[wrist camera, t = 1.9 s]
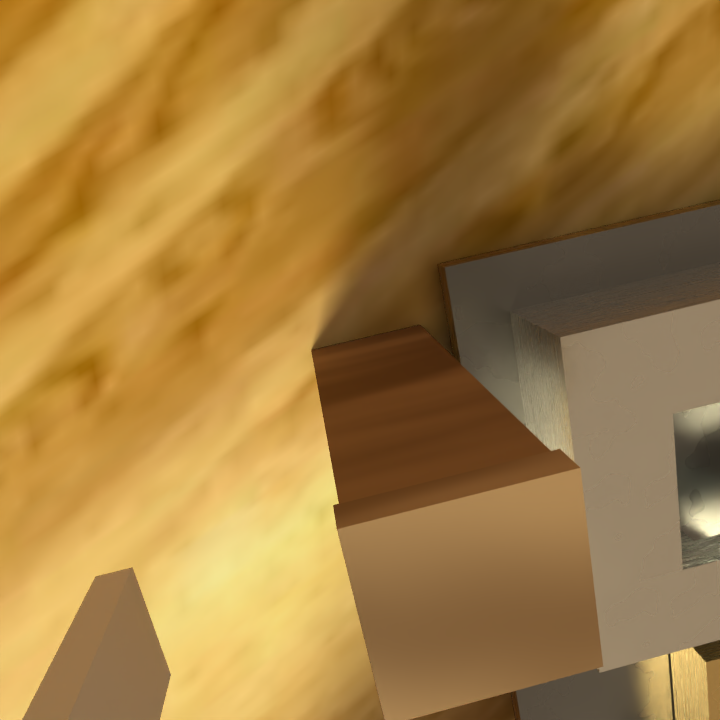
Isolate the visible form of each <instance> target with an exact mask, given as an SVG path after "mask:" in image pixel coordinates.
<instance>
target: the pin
mask: <svg viewBox="0 0 720 720" xmlns="http://www.w3.org/2000/svg"><path fill="white" fill-rule="evenodd" d="M670 655H671V669H672V682H673V695H674V708H675V720H720V640H717V641H714V642H710V643H706V644H703V645H699V646H695V647H692V648H688V649H684V650H681V651H677V652H673V653H670Z"/></svg>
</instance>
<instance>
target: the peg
mask: <svg viewBox="0 0 720 720" xmlns="http://www.w3.org/2000/svg"><path fill="white" fill-rule="evenodd" d="M311 351H312V357H313V362H314V368H315V373H316V379H317V384H318V390H319V395H320V401H321V407H322V412H323V418H324V423H325V429H326V434H327V440H328V445H329V451H330V457H331V462H332V468H333V473H334V479H335V484H336V490H337V495H338V501H339V504H336V505H333V507H334V513H335V520H336V526H337V531H338V535H339V539H340V543H341V547H342V551H343V555H344V559H345V563H346V567H347V571H348V575H349V579H350V583H351V587H352V591H353V595H354V599H355V603H356V607H357V611H358V615H359V619H360V623H361V627H362V631H363V635H364V639H365V643H366V647H367V651H368V655H369V659H370V663H371V667H372V671H373V675H374V679H375V683H376V687H377V691H378V695H379V699H380V703H381V707H382V711H383V715H384V719H385V720H410V719H414V718H418V717H421V716H425V715H429V714H432V713H436V712H440V711H443V710H447V709H451V708H454V707H458V706H461V705H465V704H469V703H472V702H476V701H480V700H483V699H487V698H491V697H494V696H498V695H502V694H505V693H509V692H513V691H516V690H520V689H524V688H527V687H531V686H535V685H538V684H542V683H546V682H549V681H553V680H557V679H560V678H564V677H568V676H571V675H575V674H578V673H582V672H586V671H589V670H593V669H597V668H600V667H603V659H602V651H601V642H600V633H599V625H598V616H597V607H596V599H595V590H594V581H593V572H592V564H591V555H590V546H589V538H588V529H587V520H586V511H585V503H584V494H583V485H582V477H581V468H580V467H579V466H578V465H577V464H576V463H575V462H574V461H573V460H572V459H570V458H569V457H568V456H567V455H566V454H565V453H564V452H563V451H562V450H561V449H557V450H553V451H551V450H550V449H548V448H547V447H546V446H545V445H544V444H543V443H542V442H541V441H540V440H539V439H538V438H537V437H536V436H535V435H534V434H533V433H532V432H531V431H530V430H529V429H528V428H527V427H526V426H525V425H524V424H523V423H521V422H520V421H519V420H518V419H517V418H516V417H515V416H514V415H513V414H512V413H511V412H510V411H509V410H508V409H507V408H506V407H505V406H504V405H503V404H502V403H501V402H500V401H499V400H498V399H497V398H496V397H494V396H493V395H492V394H491V393H490V392H489V391H488V390H487V389H486V388H485V387H484V386H483V385H482V384H481V383H480V382H479V381H478V380H477V379H476V378H475V377H474V376H473V375H472V374H471V373H470V372H469V371H467V370H466V369H465V368H464V367H463V366H462V365H461V364H460V363H459V362H458V361H457V360H456V359H455V358H454V357H453V356H452V355H451V354H450V353H449V352H448V351H447V350H446V349H445V348H444V347H443V346H442V345H440V344H439V343H438V342H437V341H436V340H435V339H434V338H433V337H432V336H431V335H430V334H429V333H428V332H427V331H426V330H425V329H424V328H423V327H422V326H421V325H416V326H412V327H408V328H404V329H399V330H395V331H391V332H387V333H382V334H378V335H374V336H369V337H365V338H361V339H357V340H352V341H348V342H344V343H339V344H335V345H331V346H327V347H322V348H318V349H314V350H311Z"/></svg>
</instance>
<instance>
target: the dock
mask: <svg viewBox="0 0 720 720" xmlns="http://www.w3.org/2000/svg"><path fill="white" fill-rule="evenodd" d="M438 270H439V275H440V281H441V287H442V293H443V299H444V305H445V310H446V316H447V322H448V328H449V334H450V340H451V346H452V351H453V357H454V358H455V359H456V360H457V361H458V362H459V363H460V364H461V365H462V366H463V367H464V368H465V369H466V370H467V371H469V372H470V373H471V374H472V375H473V376H474V377H475V378H476V379H477V380H478V381H479V382H480V383H481V384H482V385H483V386H484V387H485V388H486V389H487V390H488V391H489V392H490V393H491V394H492V395H493V396H494V397H496V398H497V399H498V400H499V401H500V402H501V403H502V404H503V405H504V406H505V407H506V408H507V409H508V410H509V411H510V412H511V413H512V414H513V415H514V416H515V417H516V418H517V419H518V420H519V421H520V422H521V423H523V424H524V425H525V426H526V427H527V428H528V429H529V430H530V431H531V432H532V433H533V434H534V435H535V436H536V437H537V438H538V439H539V440H540V441H541V442H542V443H543V444H544V445H545V446H546V447H547V448H548V449H550V450H551V451H553V450H557V449H561V450H562V451H563V452H564V453H565V454H566V455H567V456H568V457H569V458H570V459H572V460H573V461H574V462H575V463H576V464H577V465H578V466H579V467H580V468H581V477H582V485H583V494H584V503H585V511H586V520H587V529H588V538H589V546H590V555H591V564H592V572H593V581H594V590H595V599H596V607H597V616H598V625H599V633H600V642H601V651H602V659H603V667H600V668H597V669H593V670H589V671H586V672H582V673H578V674H575V675H571V676H568V677H564V678H560V679H557V680H553V681H549V682H546V683H542V684H538V685H535V686H531V687H527V688H524V689H520V690H516V691H513V692H511V696H512V702H513V708H514V714H515V720H675V708H674V695H673V682H672V669H671V655H670V653H673V652H677V651H681V650H684V649H688V648H692V647H695V646H699V645H703V644H706V643H710V642H714V641H717V640H720V200H716V201H712V202H707V203H703V204H699V205H694V206H690V207H686V208H681V209H677V210H672V211H668V212H664V213H659V214H655V215H650V216H646V217H642V218H637V219H633V220H629V221H624V222H620V223H615V224H611V225H607V226H602V227H598V228H593V229H589V230H585V231H580V232H576V233H572V234H567V235H563V236H558V237H554V238H550V239H545V240H541V241H536V242H532V243H528V244H523V245H519V246H515V247H510V248H506V249H501V250H497V251H493V252H488V253H484V254H479V255H475V256H471V257H466V258H462V259H457V260H453V261H449V262H444V263H440V264H438Z"/></svg>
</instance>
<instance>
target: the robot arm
mask: <svg viewBox="0 0 720 720" xmlns="http://www.w3.org/2000/svg"><path fill="white" fill-rule="evenodd" d="M170 676H171V674H170V671H169V668H168V666H167V663H166V660H165V657H164V654H163V652H162V649H161V646H160V643H159V640H158V638H157V635H156V632H155V629H154V626H153V624H152V621H151V618H150V615H149V612H148V610H147V607H146V604H145V601H144V598H143V596H142V593H141V590H140V587H139V584H138V582H137V579H136V576H135V573H134V571H133V568H128V569H124V570H120V571H116V572H112V573H108V574H104V575H100V576H96V577H95V579H94V581H93V583H92V585H91V587H90V588H89V590H88V592H87V594H86V596H85V598H84V600H83V602H82V604H81V606H80V608H79V610H78V612H77V614H76V616H75V618H74V620H73V622H72V624H71V626H70V628H69V630H68V631H67V633H66V635H65V637H64V639H63V641H62V643H61V645H60V647H59V649H58V651H57V653H56V655H55V657H54V659H53V661H52V663H51V665H50V667H49V669H48V671H47V673H46V674H45V676H44V678H43V680H42V682H41V684H40V686H39V688H38V690H37V692H36V694H35V696H34V698H33V700H32V702H31V704H30V706H29V708H28V710H27V712H26V714H25V716H24V718H23V719H22V720H160V717H161V712H162V708H163V704H164V700H165V696H166V692H167V688H168V684H169V680H170Z"/></svg>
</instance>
